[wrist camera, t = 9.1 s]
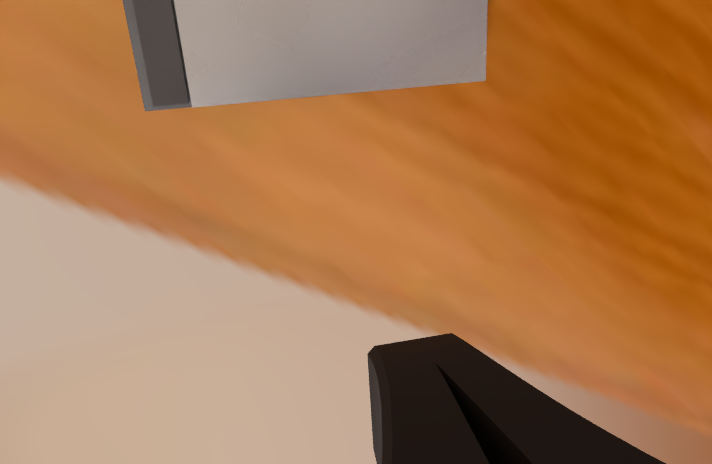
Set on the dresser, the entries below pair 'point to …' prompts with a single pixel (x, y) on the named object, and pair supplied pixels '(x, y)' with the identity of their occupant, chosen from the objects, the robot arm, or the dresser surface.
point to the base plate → (158, 53)
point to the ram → (327, 46)
